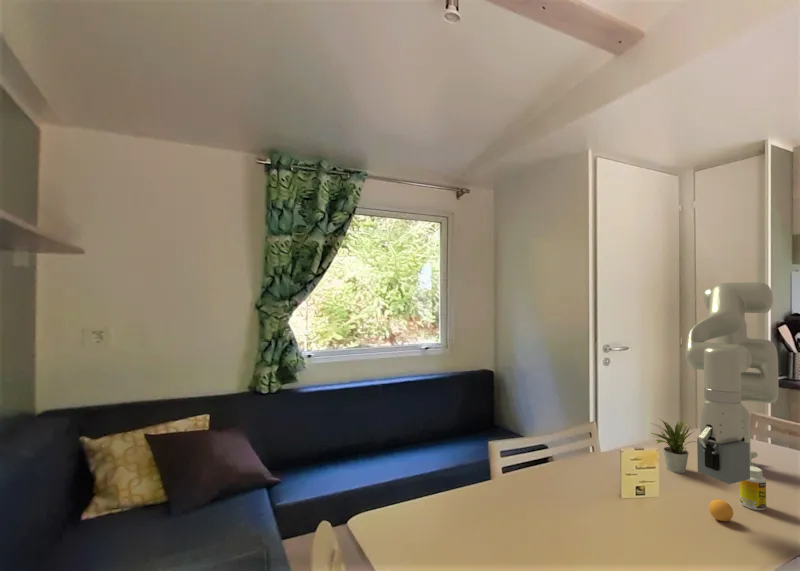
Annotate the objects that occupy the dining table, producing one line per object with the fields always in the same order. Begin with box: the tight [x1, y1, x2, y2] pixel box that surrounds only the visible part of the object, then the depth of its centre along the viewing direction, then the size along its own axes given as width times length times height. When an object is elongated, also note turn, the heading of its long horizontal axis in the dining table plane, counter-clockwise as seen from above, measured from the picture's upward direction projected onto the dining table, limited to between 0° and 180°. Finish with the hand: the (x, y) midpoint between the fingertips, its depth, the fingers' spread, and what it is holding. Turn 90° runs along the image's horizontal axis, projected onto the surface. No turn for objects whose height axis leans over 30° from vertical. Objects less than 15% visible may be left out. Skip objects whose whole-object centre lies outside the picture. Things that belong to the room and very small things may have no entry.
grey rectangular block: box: [696, 437, 751, 485], centre depth 111 cm, size 8×8×9 cm
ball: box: [708, 498, 734, 522], centre depth 112 cm, size 5×5×5 cm
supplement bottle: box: [739, 466, 767, 511], centre depth 119 cm, size 6×6×10 cm
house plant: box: [650, 418, 696, 474], centre depth 144 cm, size 14×14×16 cm
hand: (723, 465), depth 111 cm, fingers closed on grey rectangular block, 7 cm apart
